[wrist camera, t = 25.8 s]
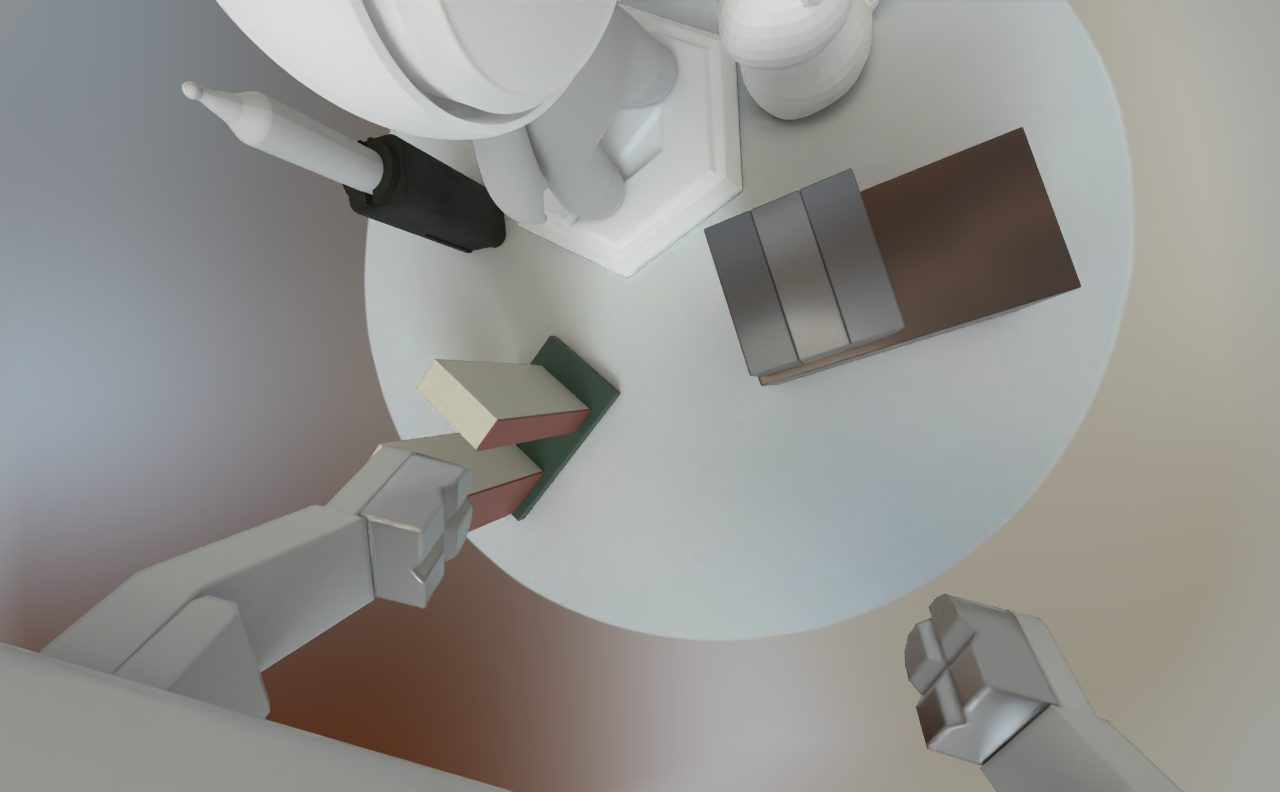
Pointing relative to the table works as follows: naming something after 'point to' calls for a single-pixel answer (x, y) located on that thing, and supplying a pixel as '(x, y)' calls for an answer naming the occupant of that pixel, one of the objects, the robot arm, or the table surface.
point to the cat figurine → (797, 49)
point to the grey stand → (889, 259)
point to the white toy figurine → (536, 105)
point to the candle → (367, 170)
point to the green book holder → (522, 445)
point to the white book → (501, 402)
